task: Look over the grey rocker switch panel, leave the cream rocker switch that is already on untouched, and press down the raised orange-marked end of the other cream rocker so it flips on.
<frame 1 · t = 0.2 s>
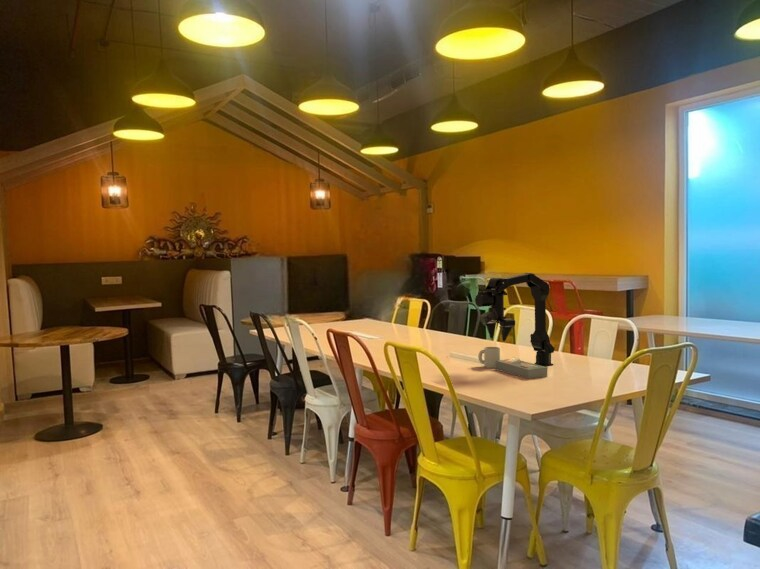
hand: (497, 339, 255), 14 cm above the table, tool pointing down, fingers open, 9 cm apart
rocker a: (512, 361, 256), point 4 cm above the table, hinge at 14.0°
rocker b: (529, 366, 246), point 4 cm above the table, hinge at -14.0°
grey rocker switch panel: (520, 372, 251), on the table
cup: (489, 367, 266), on the table
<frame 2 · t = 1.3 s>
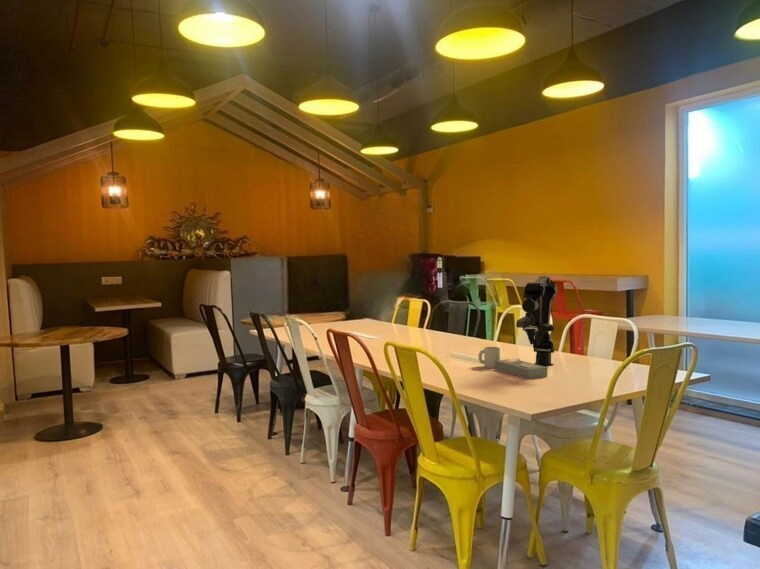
hand: (534, 345, 253), 12 cm above the table, tool pointing down, fingers open, 4 cm apart
nothing on the table moved.
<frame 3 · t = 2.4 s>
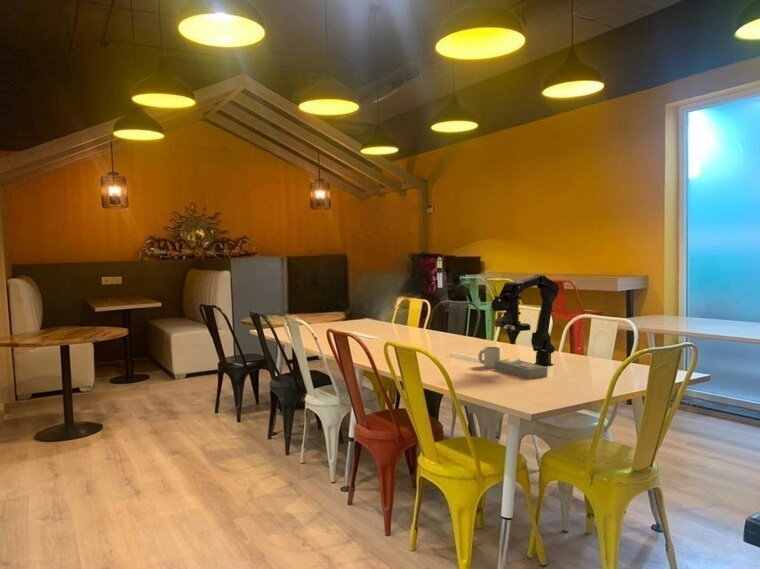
hand: (512, 344, 256), 12 cm above the table, tool pointing down, fingers closed
nothing on the table moved.
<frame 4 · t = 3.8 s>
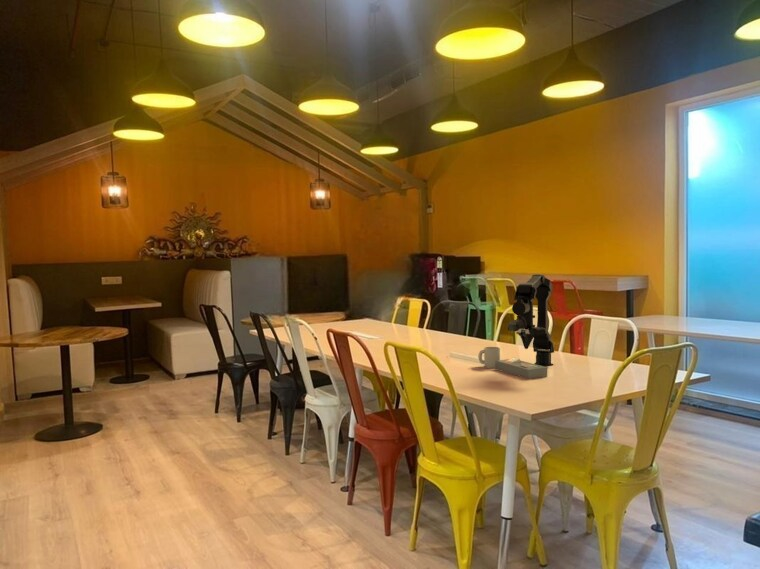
hand: (526, 348, 244), 12 cm above the table, tool pointing down, fingers closed
nothing on the table moved.
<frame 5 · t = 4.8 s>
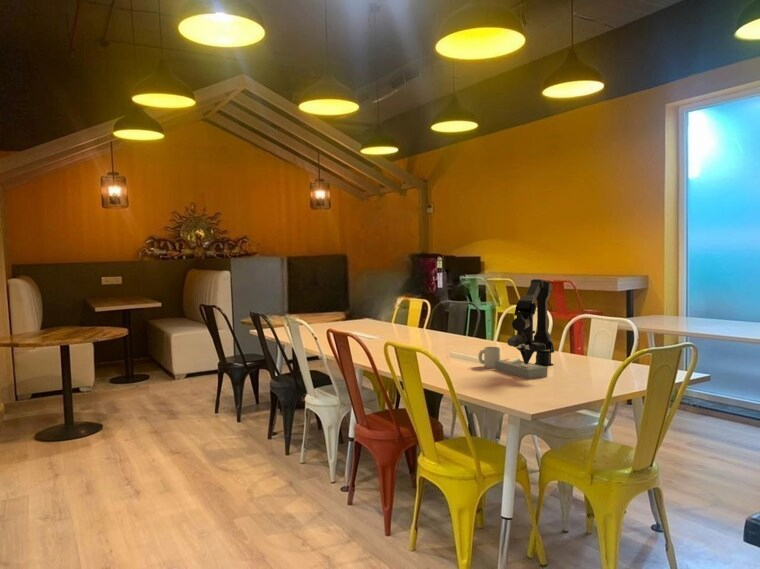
hand: (526, 364, 245), 5 cm above the table, tool pointing down, fingers closed, pressing on rocker b
rocker b: (529, 366, 246), point 4 cm above the table, hinge at -13.9°, touching gripper
everything else where it was.
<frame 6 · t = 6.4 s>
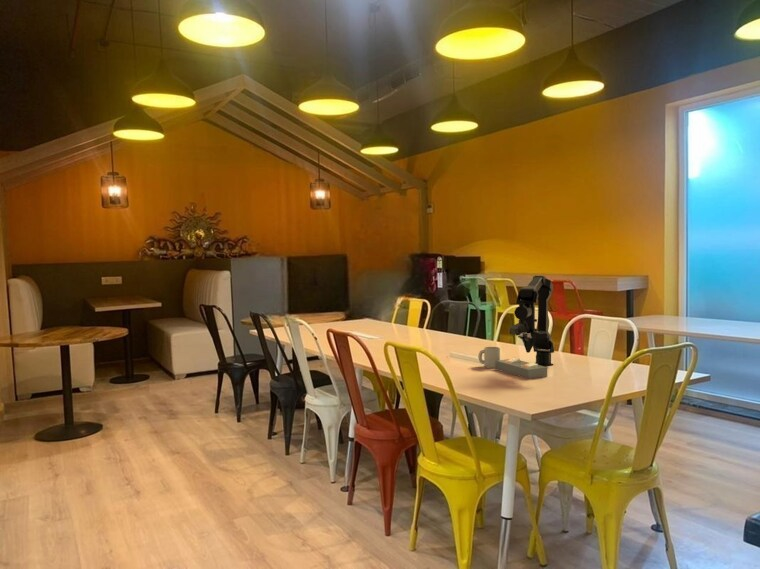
hand: (528, 352, 246), 10 cm above the table, tool pointing down, fingers closed
rocker b: (529, 366, 246), point 4 cm above the table, hinge at 8.7°
everything else where it was.
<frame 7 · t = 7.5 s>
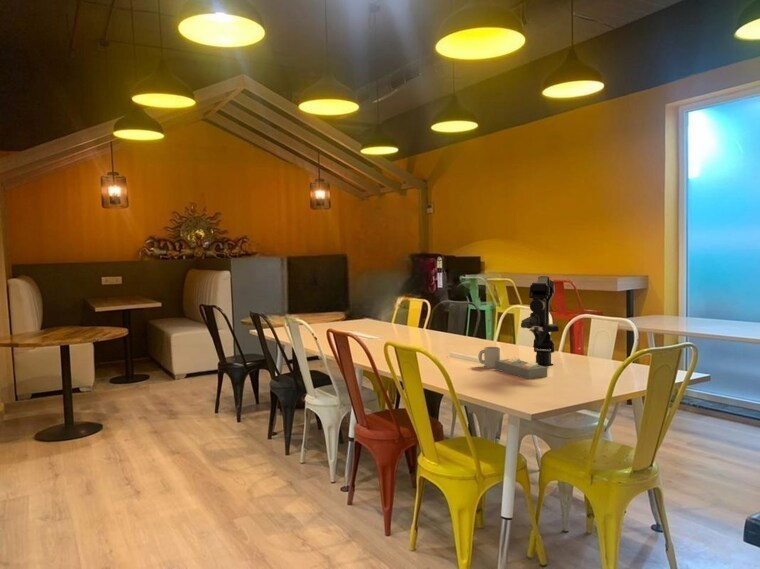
hand: (539, 345, 251), 12 cm above the table, tool pointing down, fingers closed
rocker b: (529, 366, 246), point 4 cm above the table, hinge at 16.7°
everything else where it was.
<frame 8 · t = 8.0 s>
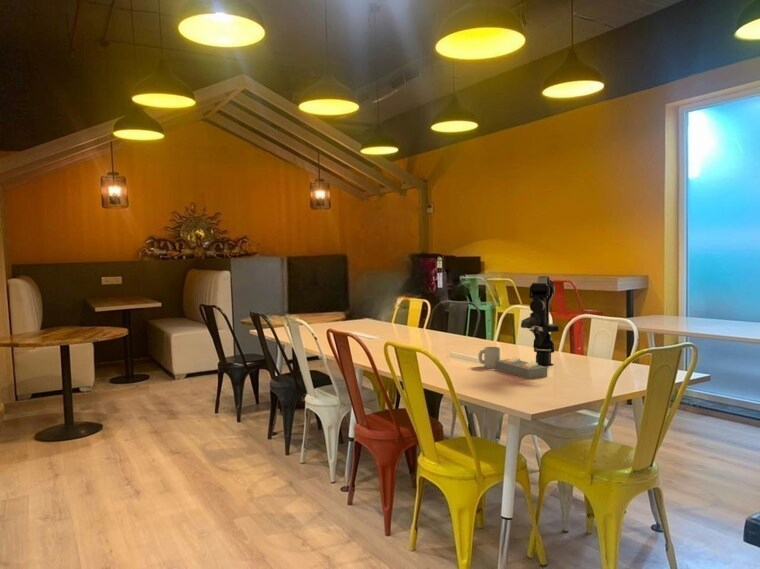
hand: (539, 345, 251), 12 cm above the table, tool pointing down, fingers closed
rocker b: (529, 366, 246), point 4 cm above the table, hinge at 19.3°, touching grey rocker switch panel
everything else where it was.
at the end: rocker b at +19° (first picture: -14°); rocker a at +14° (first picture: +14°); cup moved 0.2 cm from its start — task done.
